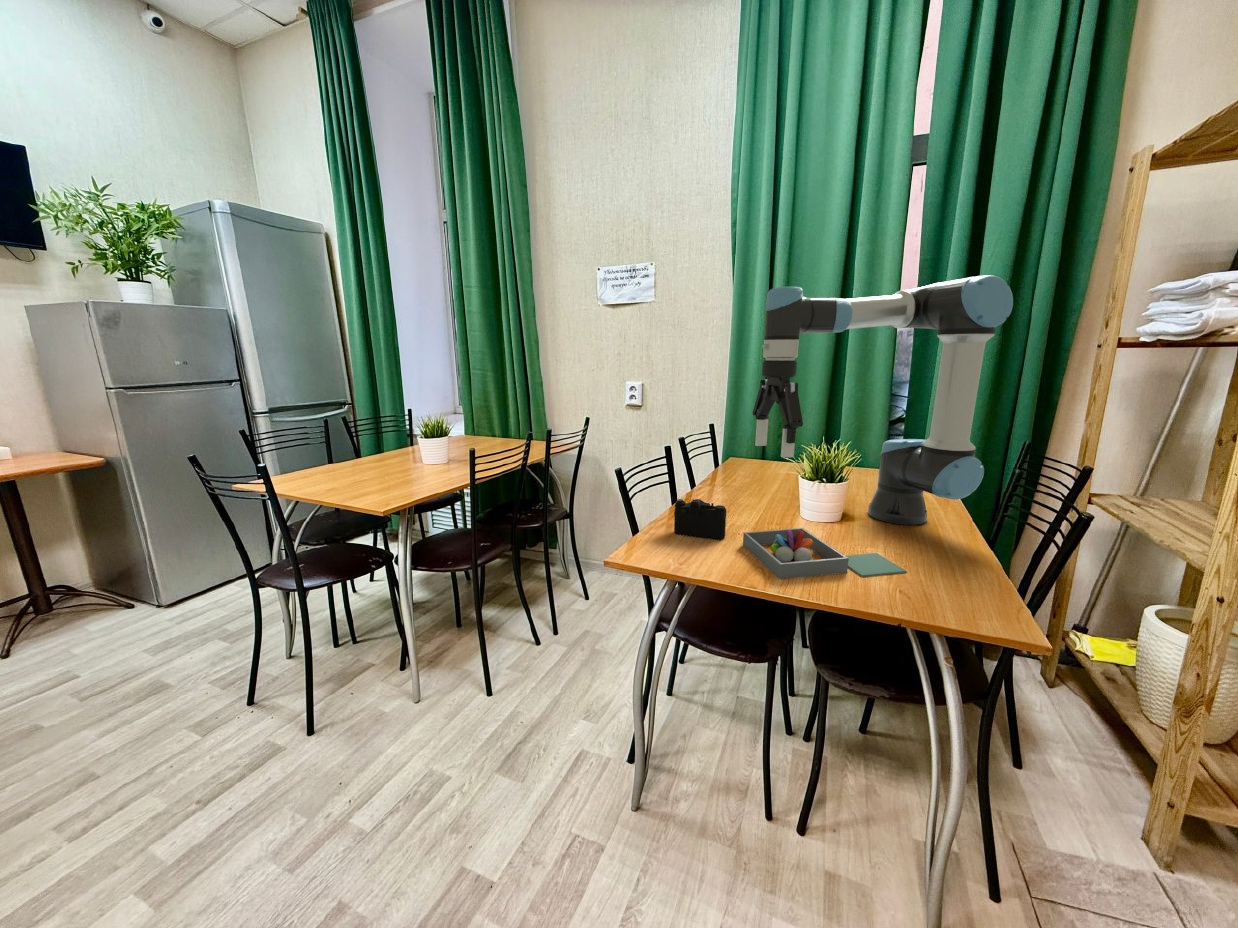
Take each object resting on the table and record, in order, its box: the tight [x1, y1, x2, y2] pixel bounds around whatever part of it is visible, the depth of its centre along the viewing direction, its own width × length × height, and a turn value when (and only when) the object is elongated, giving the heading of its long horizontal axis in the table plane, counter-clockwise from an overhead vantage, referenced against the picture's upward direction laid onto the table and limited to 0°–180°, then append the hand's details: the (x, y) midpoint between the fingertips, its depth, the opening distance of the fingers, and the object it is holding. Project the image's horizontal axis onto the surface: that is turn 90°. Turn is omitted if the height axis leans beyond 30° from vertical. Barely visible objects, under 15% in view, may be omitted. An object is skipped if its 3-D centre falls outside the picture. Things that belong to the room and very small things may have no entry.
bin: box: [742, 527, 849, 580], centre depth 116 cm, size 16×19×4 cm
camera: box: [673, 498, 727, 541], centre depth 133 cm, size 14×11×10 cm
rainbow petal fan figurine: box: [770, 528, 814, 563], centre depth 116 cm, size 8×10×7 cm
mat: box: [845, 552, 907, 578], centre depth 112 cm, size 11×10×1 cm
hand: (773, 451), depth 115 cm, fingers open, 13 cm apart
